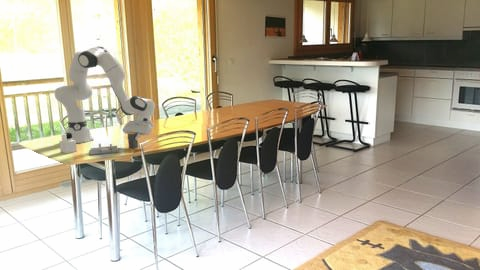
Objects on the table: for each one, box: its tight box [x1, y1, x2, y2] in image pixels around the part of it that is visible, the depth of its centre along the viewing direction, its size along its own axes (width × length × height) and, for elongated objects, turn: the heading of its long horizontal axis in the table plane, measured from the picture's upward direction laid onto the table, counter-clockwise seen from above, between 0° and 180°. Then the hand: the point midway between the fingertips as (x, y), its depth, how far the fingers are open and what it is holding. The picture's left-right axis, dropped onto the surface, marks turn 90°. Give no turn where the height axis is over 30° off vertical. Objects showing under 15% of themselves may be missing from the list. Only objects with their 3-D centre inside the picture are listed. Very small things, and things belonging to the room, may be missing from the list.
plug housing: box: [127, 132, 139, 149], centre depth 271 cm, size 4×4×10 cm
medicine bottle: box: [58, 132, 78, 155], centre depth 265 cm, size 7×7×12 cm
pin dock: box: [89, 143, 119, 156], centre depth 265 cm, size 16×16×4 cm
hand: (132, 139), depth 270 cm, fingers closed on plug housing, 4 cm apart
